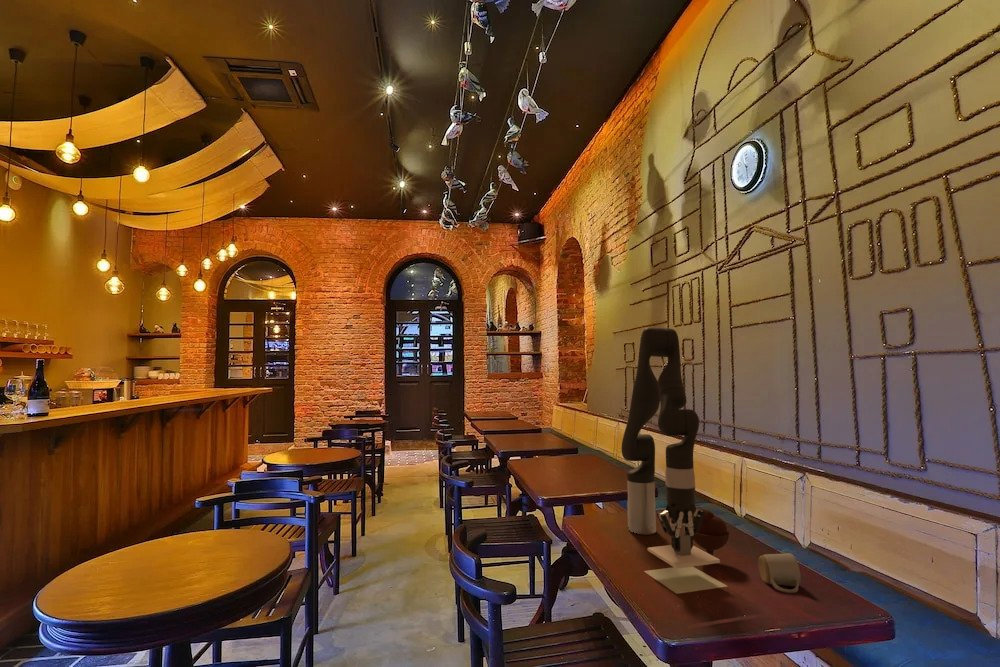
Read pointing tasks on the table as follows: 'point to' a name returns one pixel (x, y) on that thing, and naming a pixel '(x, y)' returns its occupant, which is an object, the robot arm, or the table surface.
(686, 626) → the table surface
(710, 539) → the ice cream bowl
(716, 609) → the table surface
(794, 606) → the table surface
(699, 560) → the cover board
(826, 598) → the table surface
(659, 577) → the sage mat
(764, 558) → the ceramic mug
